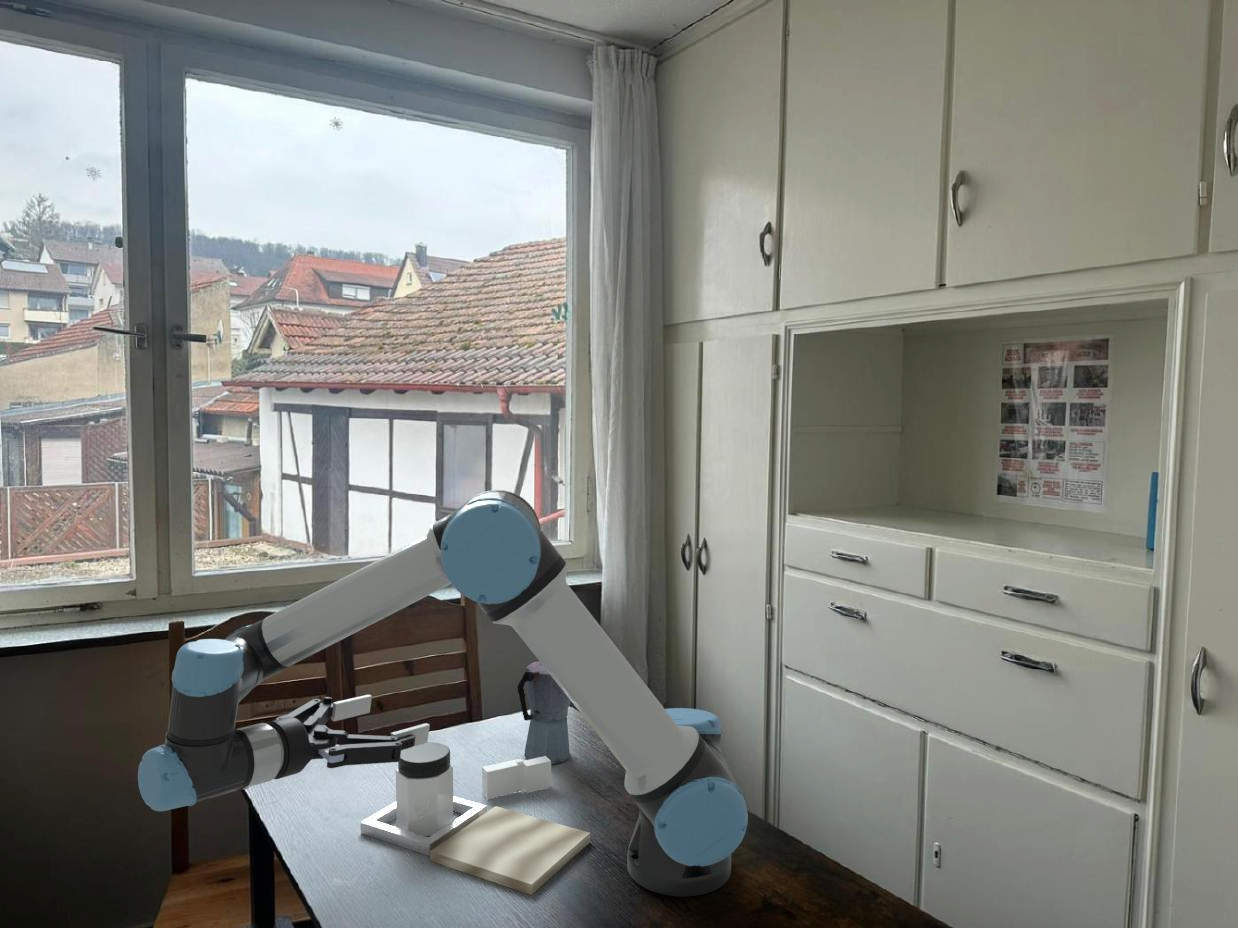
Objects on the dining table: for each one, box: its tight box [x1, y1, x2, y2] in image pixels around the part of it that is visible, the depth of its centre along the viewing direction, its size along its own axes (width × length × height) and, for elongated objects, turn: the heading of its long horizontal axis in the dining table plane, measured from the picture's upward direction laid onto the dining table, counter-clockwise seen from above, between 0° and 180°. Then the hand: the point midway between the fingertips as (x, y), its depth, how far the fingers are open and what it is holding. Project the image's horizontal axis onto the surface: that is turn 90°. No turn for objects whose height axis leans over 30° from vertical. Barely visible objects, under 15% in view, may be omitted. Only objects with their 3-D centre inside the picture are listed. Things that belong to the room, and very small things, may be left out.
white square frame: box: [360, 795, 488, 857], centre depth 137 cm, size 14×14×2 cm
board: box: [429, 805, 591, 896], centre depth 129 cm, size 18×16×2 cm
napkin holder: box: [481, 756, 552, 800], centre depth 148 cm, size 15×11×6 cm
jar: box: [395, 741, 455, 837], centre depth 136 cm, size 9×8×12 cm
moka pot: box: [517, 660, 572, 765], centre depth 162 cm, size 10×15×20 cm, turn 148°
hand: (397, 717), depth 130 cm, fingers open, 13 cm apart
